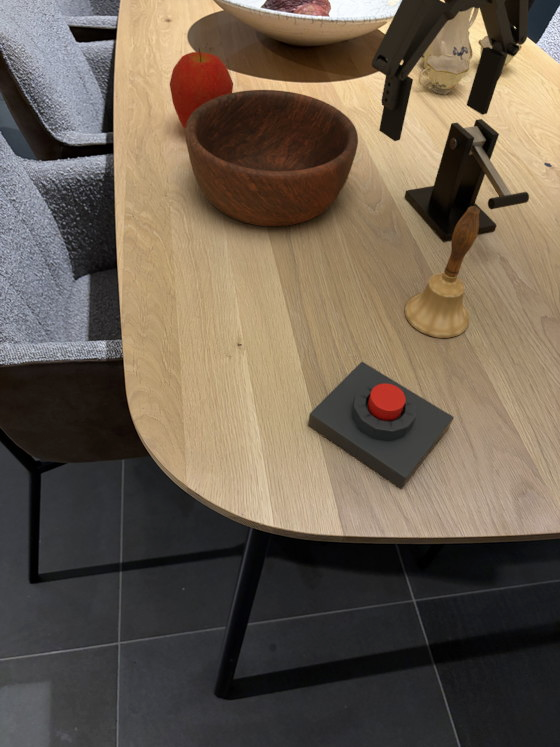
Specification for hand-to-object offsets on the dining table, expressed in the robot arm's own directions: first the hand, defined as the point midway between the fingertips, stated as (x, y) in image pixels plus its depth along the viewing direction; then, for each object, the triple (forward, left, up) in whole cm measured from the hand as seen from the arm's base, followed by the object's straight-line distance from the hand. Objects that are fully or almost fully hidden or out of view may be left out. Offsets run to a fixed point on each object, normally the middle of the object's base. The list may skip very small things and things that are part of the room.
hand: (434, 122), depth 69 cm
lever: (-4, -13, -11) cm, 17 cm away
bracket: (0, -16, -20) cm, 26 cm away
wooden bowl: (+24, -1, -21) cm, 32 cm away
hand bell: (-10, +6, -21) cm, 23 cm away
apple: (+44, -7, -21) cm, 49 cm away
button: (-14, +26, -17) cm, 34 cm away
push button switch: (-14, +26, -20) cm, 36 cm away
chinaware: (+24, -62, -21) cm, 70 cm away
